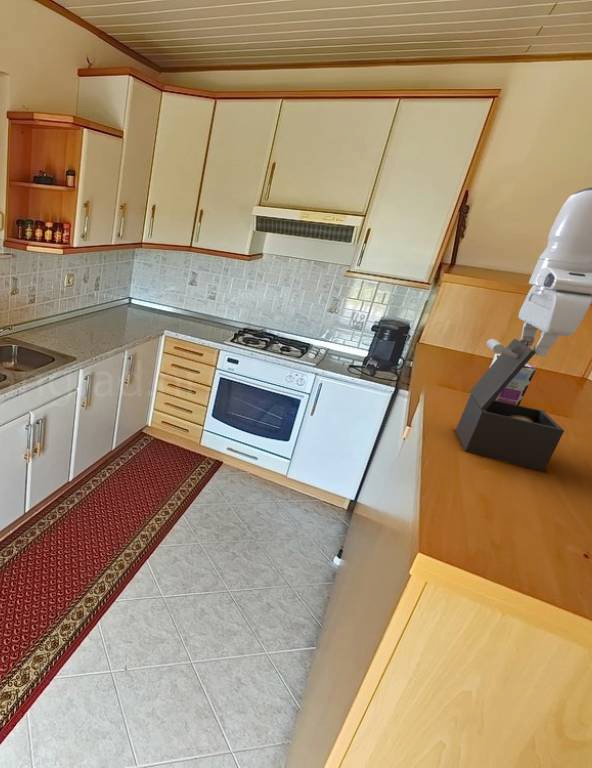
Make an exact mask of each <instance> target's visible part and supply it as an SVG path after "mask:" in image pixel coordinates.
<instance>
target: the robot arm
mask: <svg viewBox="0 0 592 768" xmlns="http://www.w3.org/2000/svg"><path fill="white" fill-rule="evenodd" d="M547 238H548V239H547V245H546V247H545V249H544V250H543V252H542V253H541V254H540V255H539V257H538V260H537V262H536V264H535V267H534V269H533V272H532V274H531V276H530V278H529V281H528V284H529V285H532V286H531V287H530V289H529V291H528V293H527V295H526V297H525V299H524V301H523V303H522V305H521V308H520V310H519V312H518V319H519V320H521V321H523V322H524V323H523V325H522V331H521V337H520V339H519V341H520V342H522V343H523V344H525V345H526V346H528V347H529V348H531V347H532V346H533V344H534V342H535V337H536V333H537V330H539V331H542V332H541V334H540V338H539V340H538V342H537V343H536V344H534V346H533V349H532V350H534V351H535V352H536V353H535V354H534V355H535V356H540V357H546V356H547V355H548V353H549V352H550V349H551V348H552V347H553V346H554V344H555V343H556V342H557V341H558V340H559V337H560V336H561V337H571V336H572V335H573V334H574V333H575V332H576V331H577V330H578V328H579V326H580V325H581V323H582V321H583V319H584V318H585V316H586V314H587V312H588V310H589V308H590V307H591V304H592V187H586V188H583V189H579V190H577V191H576V192H574V193H572V194H571V195H570V196H569V197H567V199H566V200H565V202H564V203H563V205H562V207H561V208H560V210H559V212H558V214H557V215H556V218H555V220H554V222H553V224H552V226H551V228H550V231H549V233H548V235H547Z"/></svg>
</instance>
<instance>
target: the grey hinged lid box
mask: <svg viewBox="0 0 592 768" xmlns="http://www.w3.org/2000/svg"><path fill="white" fill-rule="evenodd" d="M514 415H518V416H525V417H528V418H530V419H532V420H533V422H534V423H533V422H529V421H524V420H520V419H516V418H511V417H508V416H514ZM455 432H456V434H457V437H458V440H459V441H460V443H461V445H462V447H463V449H464V451H465V452H467V453H471V454H475V455H479V456H482V457H487V458H491V459H494V460H498V461H502V462H506V463H509V464H514V465H516V466H521V467H525V468H527V469H532V470H535V471H540V472H543V473H544V472H546V471H545V470H546V468H547V467H548V464H549V463H550V460H551V459H552V456H553V454H554V453H555V450H556V448H557V446H558V445H559V442H560V440H561V439H562V436H563V434H564V433H565V429H563V428H562V427H561V426H560V425H559V424H558V423H557V422H556V421H555V420H554V419H553V418H552V417H551V416H549V414H547V412H545V410H543V409H538V408H534V407H528V406H525V405H521V404H520V405H515V404H511V403H506V402H502V401H497V400H494V401H493V402H492V403H491V404H490V405H489V407H488V408H487V409H486V410H483V409H481V408H480V406H479V405H478V403H477V402H476V400H475V399H474V398H473V396H472V395H471V394H469V397H468V400H467V401H466V404H465V407H464V409H463V411H462V414H461V416H460V419H459V421H458V424H457V426H456V428H455Z"/></svg>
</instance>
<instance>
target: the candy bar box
mask: <svg viewBox="0 0 592 768" xmlns="http://www.w3.org/2000/svg"><path fill="white" fill-rule="evenodd" d="M500 355H501V353H494V355H493V359H492V360H491V363H490V365H489V368H490V367H491V365H492V364H493V363H494V362H495V361H496V360H497V358H498V357H499V356H500ZM489 368H488V369H489ZM536 371H537V368H536V367H534V366H532V365H531V364H529V362H527V363H526V365H525V366H524V367H523V368H522V369H521V370H520V371H519V372H518V374H517V375H516V376H515V377H514V378H513V379H512V380H511V382H510V383H509V384H508V385H507V386H506V387H505V388H504V390H503V391H502V392H501V393H500V394H499V395H498V396H497V398H496V399H495V400H497V401H502V402H506V403H511V404H515V405H520V406H521V403H522V400H523V398H524V396H525V394H526V392H527V390H528V388H529V386H530V384H531V381H532V380H533V378H534V375H535V373H536Z"/></svg>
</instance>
